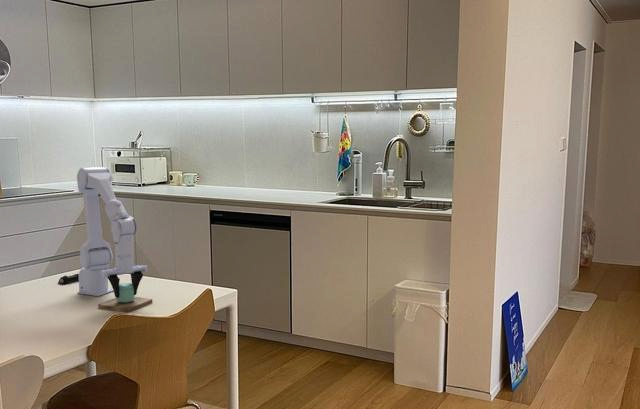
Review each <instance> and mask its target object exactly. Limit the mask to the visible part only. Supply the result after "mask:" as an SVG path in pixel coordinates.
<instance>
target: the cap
mask: <svg viewBox="0 0 640 409" xmlns="http://www.w3.org/2000/svg"><path fill="white" fill-rule="evenodd" d="M134 297H135V295H134V287H133V284H132V282H131V283H130V282H129V283H127V282H124V283H119V298H117V301H118V302H130V301H133V300H135V299H134Z"/></svg>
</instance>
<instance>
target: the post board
mask: <svg viewBox="0 0 640 409" xmlns="http://www.w3.org/2000/svg"><path fill="white" fill-rule="evenodd" d="M134 299H135V300H133V301H130V302H118V301H117V298H116V297H115V298H112V299H111V298H110V299H109V300H107V301H103V302H101V303H98V304H97V308H98V309H103V310H108V311H109V310H110V311H115V312H116V311H117V312H122V313H123V312H124V313H131V312H134V311H136V310H138V309H141V308H143V307H146V306H148V305H150V304H151V305H152V304H153V298H146V297H141V296H139V297H138V296H134Z"/></svg>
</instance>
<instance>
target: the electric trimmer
mask: <svg viewBox="0 0 640 409" xmlns="http://www.w3.org/2000/svg"><path fill="white" fill-rule="evenodd" d="M77 281H78V282H79V273H75V274H72V275H68V276H67V275H63V276H61V277H59V279H58V282H57V284H59V285H61V286H65V285H67V284H70V283H73V282H74V283H75V282H77Z"/></svg>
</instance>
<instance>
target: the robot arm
mask: <svg viewBox="0 0 640 409" xmlns="http://www.w3.org/2000/svg"><path fill="white" fill-rule="evenodd" d="M76 183H77V189H78V190H77V191H78V193H82V199H83V200H82V201H83V209H84V218H85V219H84V220H85V228H86V236H87V237H86V238H87V240H86V241H85V242H84V243H83V244H82V245H81V246H80V247H79V249H80V251H79V263H80V265H81V267H82V268H80V270H79V273H78V274H79V280H78V291H77V294H82V295H87V296H95V297H100V296H102V295H106V294H108V293H112V292H113V294H114V297H115V298H119V284H120V277H119V276H121V275H122V276H123V275H127V274H128V275H129V274H130V278H131V279H130V280H131V284H133V287H134V296H136V295H137V293H138V290H139V286H140V282H141V280H142V279H143V277H144V272H145V273H147V272H148V269H149V268H148V265H146V264H143V265H142V264H141V265H135V253H134V251H135V250H134V249H135V248H134V247H135V246H134V244H135V243H134V235H136V233H137V229H138V226H137V222H136V220H135V218H134V217H132V215H130V214H128V212H127V211H126V208H125V206H124V205H123V203H122V201H121V200H118V199H117V197H116V195H115V192H114V190H113V187H112V172H111V169H110V168H109V167H108V166H103V167H101V166H100V167H80V168H79V170H77V174H76ZM99 195H100V197H101V199H102V200H103V202H104V203H105V207H104V211H105V212H106V214H107V217H108V218H109V221H110V223H111V226H110V231H111V234H112V239H113V242H114V250H115V252H114V254H115V255H114V254H113V252H112V249H111V243H109V242H108V241H106V240H104V239H103V238H104V237H103V229H102V220H101V210H100V209H101V208H100V202H99V200H100V199H99ZM114 258H115V267H114V268H113V267H112V268H110V265H112V262H113V261H114ZM109 283H110V285H111V287H112V288H109Z"/></svg>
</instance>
